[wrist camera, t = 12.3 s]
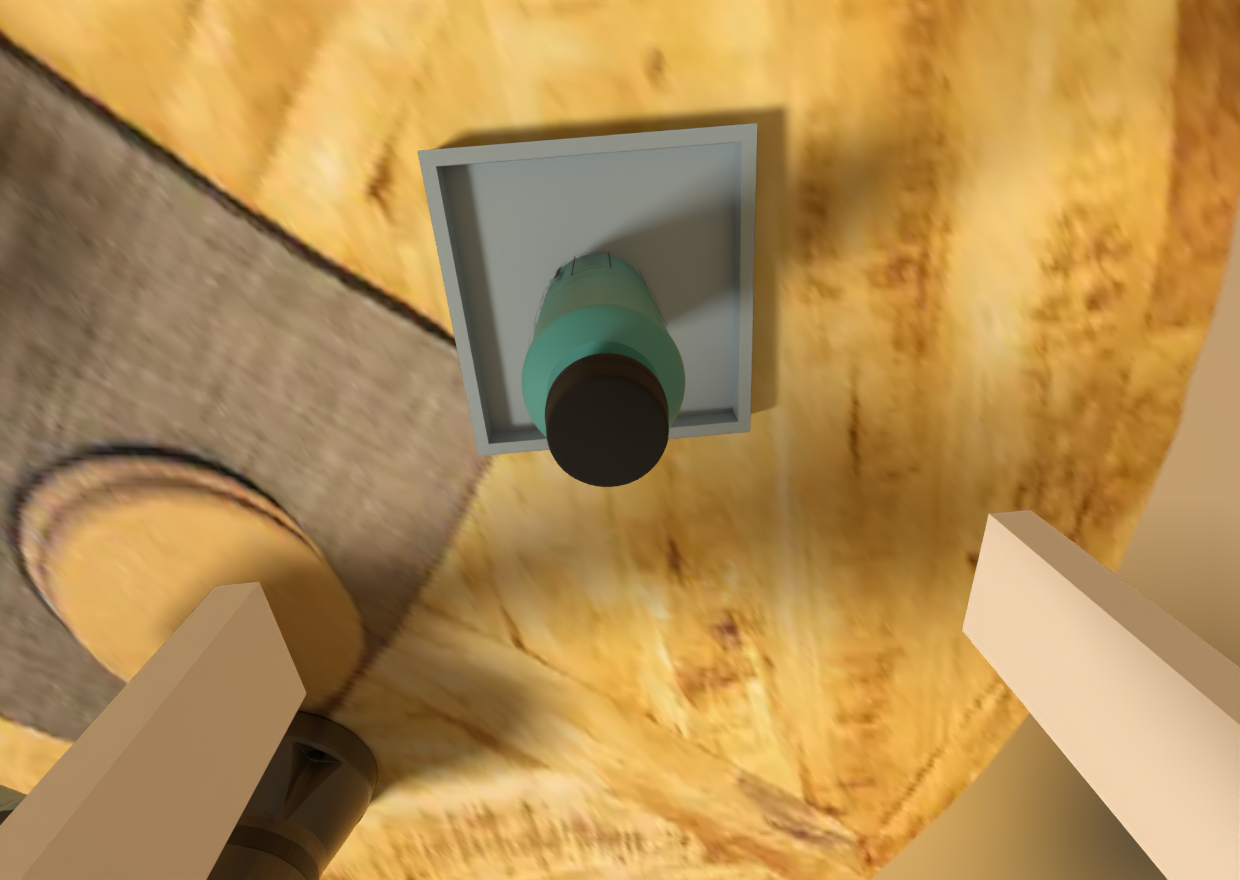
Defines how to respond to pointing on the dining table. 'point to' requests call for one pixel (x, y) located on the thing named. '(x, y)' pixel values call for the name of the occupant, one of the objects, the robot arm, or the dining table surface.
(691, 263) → the tray
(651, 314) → the beverage bottle
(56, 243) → the dining table surface
